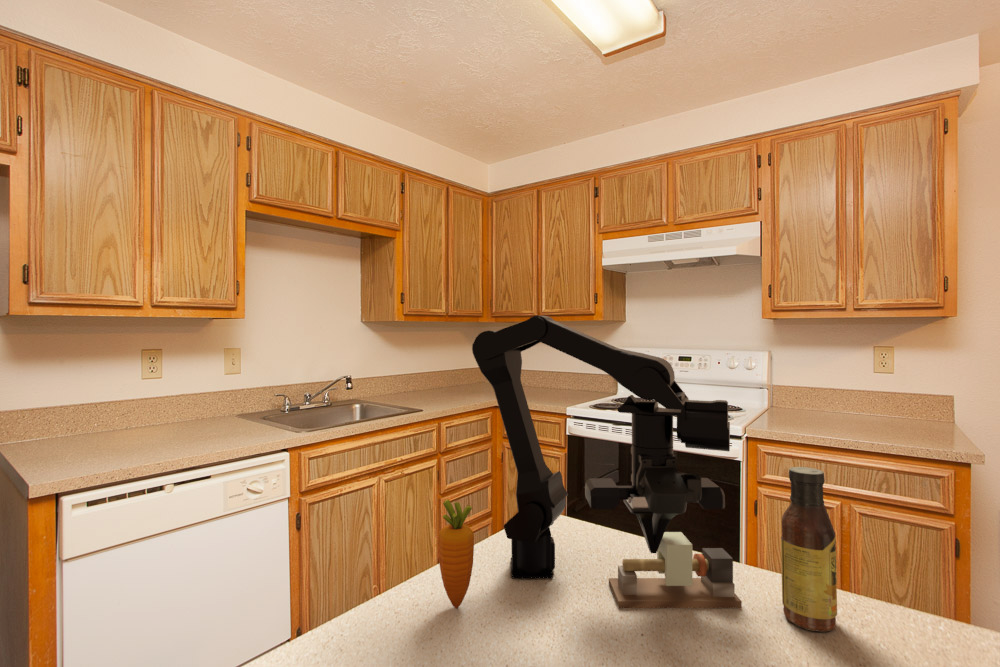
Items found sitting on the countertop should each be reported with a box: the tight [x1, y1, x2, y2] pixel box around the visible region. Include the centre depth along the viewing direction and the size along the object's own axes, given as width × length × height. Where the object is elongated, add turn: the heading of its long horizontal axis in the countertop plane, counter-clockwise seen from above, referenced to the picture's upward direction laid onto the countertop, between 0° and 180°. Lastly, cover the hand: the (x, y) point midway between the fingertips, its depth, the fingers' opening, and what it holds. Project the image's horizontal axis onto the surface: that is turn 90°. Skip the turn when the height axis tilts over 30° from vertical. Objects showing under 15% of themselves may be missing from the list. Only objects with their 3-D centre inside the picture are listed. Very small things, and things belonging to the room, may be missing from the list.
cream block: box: [656, 531, 693, 586], centre depth 73 cm, size 4×4×6 cm
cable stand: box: [608, 547, 743, 609], centre depth 73 cm, size 17×6×6 cm, turn 90°
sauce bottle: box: [780, 466, 838, 633], centre depth 66 cm, size 7×6×20 cm
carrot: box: [437, 499, 475, 609], centre depth 70 cm, size 5×5×15 cm
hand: (652, 552), depth 72 cm, fingers closed
